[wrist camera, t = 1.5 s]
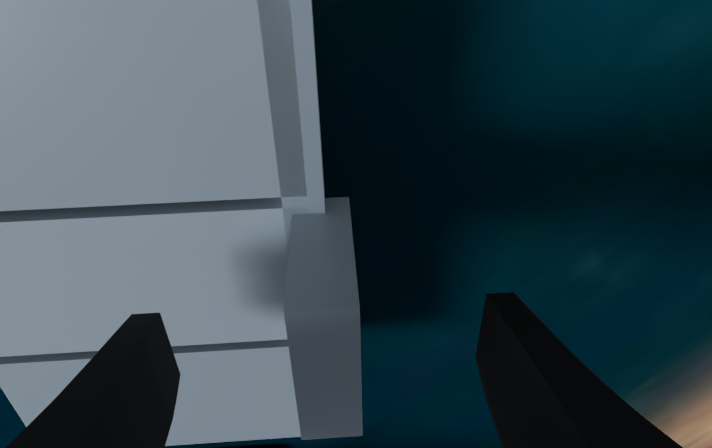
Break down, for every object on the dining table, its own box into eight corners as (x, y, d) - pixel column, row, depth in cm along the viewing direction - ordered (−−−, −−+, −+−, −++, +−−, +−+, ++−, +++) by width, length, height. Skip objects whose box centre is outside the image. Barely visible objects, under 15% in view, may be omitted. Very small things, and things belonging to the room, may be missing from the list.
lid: (356, 414, 17) (364, 537, 14) (53, 435, 17) (-11, 566, 14) (341, -18, 10) (353, 30, 6) (-211, 0, 9) (-501, 61, 6)
